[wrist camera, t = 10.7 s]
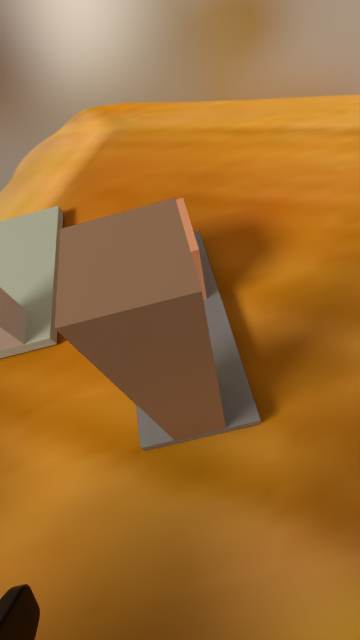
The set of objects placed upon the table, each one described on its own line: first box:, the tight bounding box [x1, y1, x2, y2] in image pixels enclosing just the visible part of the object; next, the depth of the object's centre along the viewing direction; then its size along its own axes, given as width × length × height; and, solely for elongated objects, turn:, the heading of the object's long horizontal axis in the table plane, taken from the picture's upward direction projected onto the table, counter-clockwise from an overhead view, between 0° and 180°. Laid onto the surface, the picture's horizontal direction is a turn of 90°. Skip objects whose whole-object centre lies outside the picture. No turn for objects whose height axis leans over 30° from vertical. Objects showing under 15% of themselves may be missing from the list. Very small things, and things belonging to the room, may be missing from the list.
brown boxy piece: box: [55, 198, 261, 450], centre depth 16 cm, size 16×7×14 cm, turn 10°
